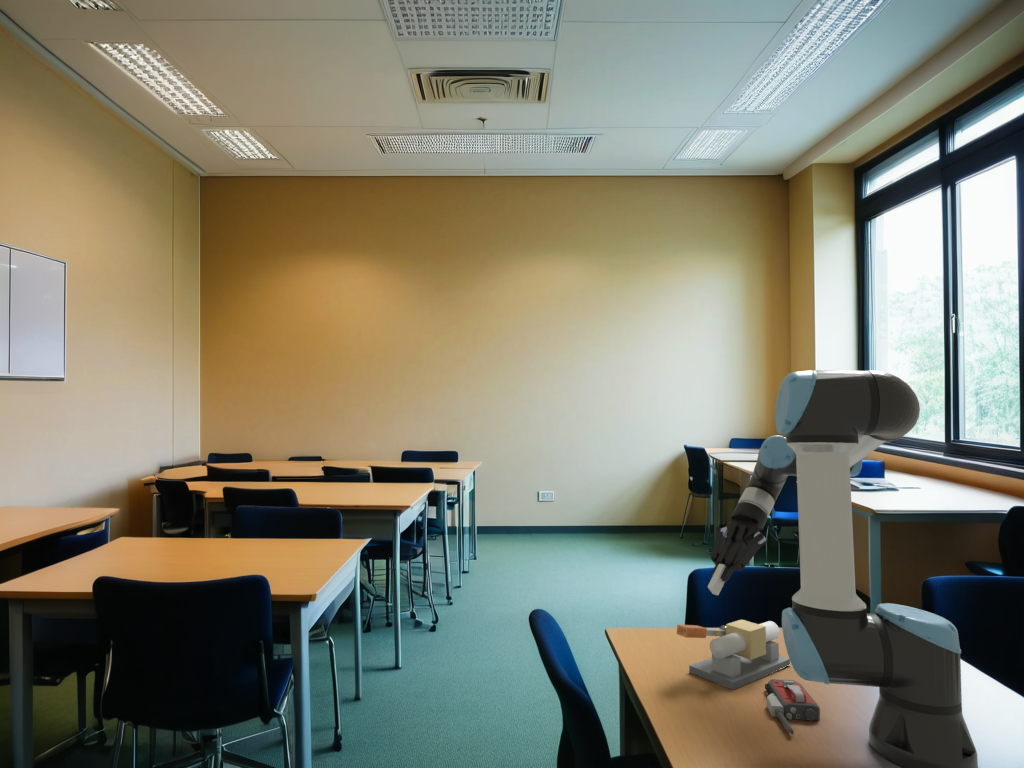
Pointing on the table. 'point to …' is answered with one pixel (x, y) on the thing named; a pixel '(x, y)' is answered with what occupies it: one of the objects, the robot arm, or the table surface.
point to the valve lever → (699, 631)
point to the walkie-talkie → (790, 702)
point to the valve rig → (742, 654)
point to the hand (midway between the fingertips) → (712, 591)
